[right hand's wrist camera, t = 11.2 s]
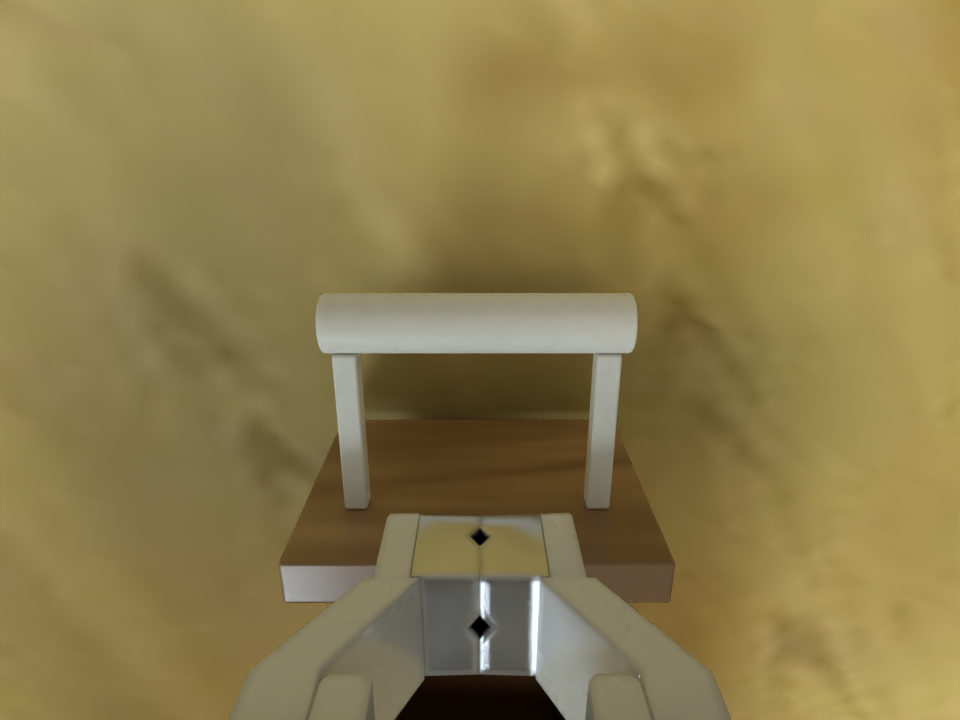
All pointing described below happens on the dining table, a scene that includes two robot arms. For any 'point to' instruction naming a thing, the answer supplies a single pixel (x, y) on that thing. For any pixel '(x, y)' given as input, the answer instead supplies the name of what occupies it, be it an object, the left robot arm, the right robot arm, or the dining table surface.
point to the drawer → (476, 463)
